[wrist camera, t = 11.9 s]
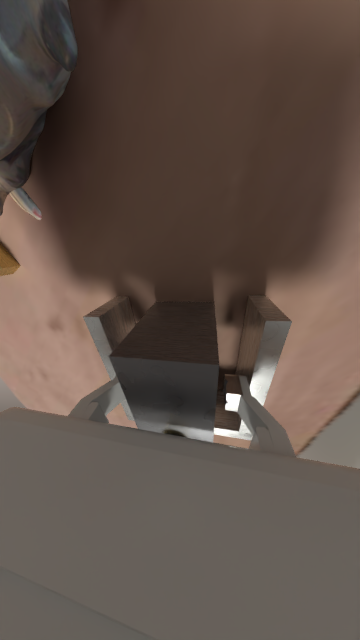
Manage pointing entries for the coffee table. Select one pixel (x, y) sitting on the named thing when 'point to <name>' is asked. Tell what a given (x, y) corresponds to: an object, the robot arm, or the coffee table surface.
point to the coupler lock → (171, 369)
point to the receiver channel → (253, 361)
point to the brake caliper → (30, 84)
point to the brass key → (7, 262)
